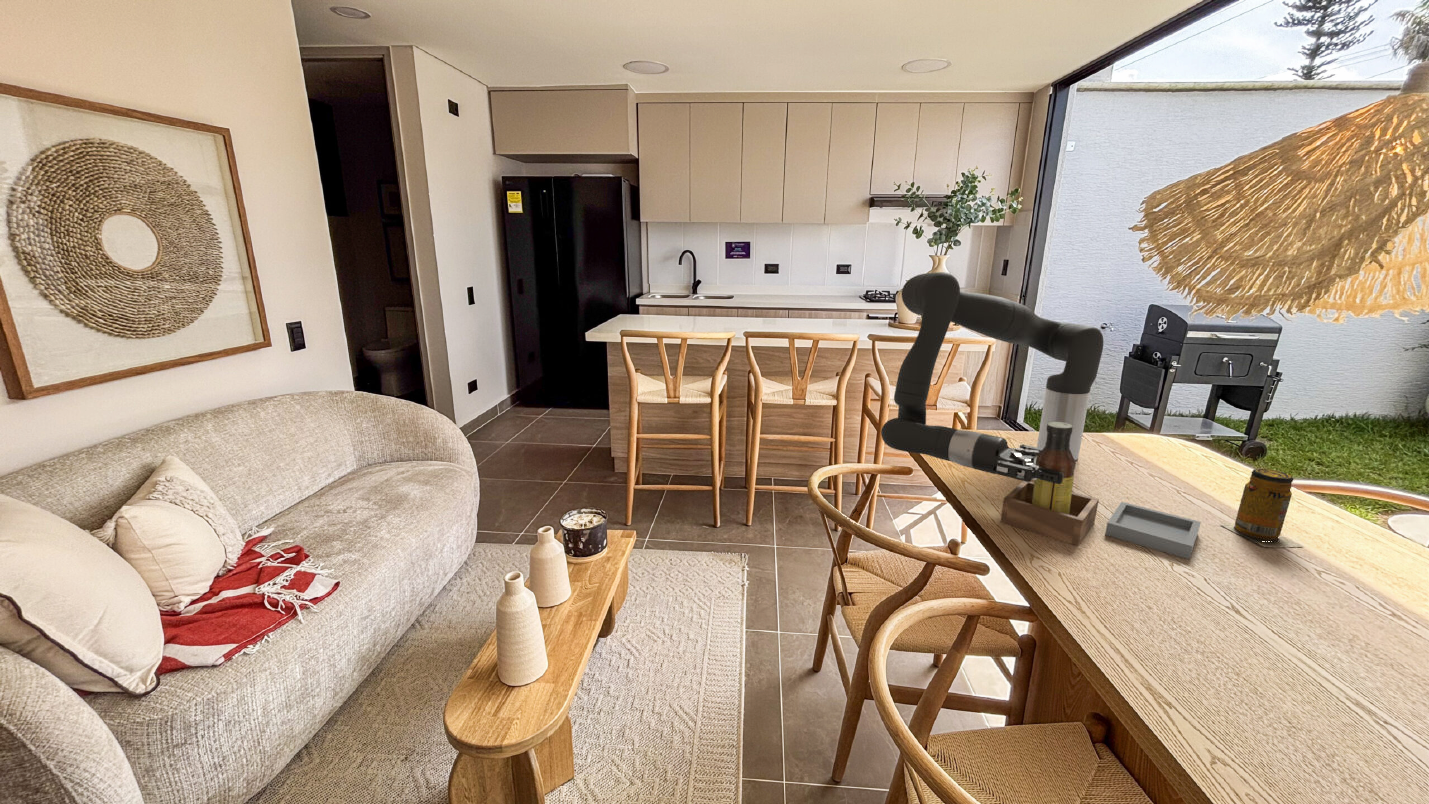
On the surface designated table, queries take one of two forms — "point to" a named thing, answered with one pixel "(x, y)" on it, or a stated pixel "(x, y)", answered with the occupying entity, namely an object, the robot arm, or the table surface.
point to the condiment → (1264, 508)
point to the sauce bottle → (1057, 459)
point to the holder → (1049, 515)
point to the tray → (1154, 529)
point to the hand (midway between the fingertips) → (1068, 472)
